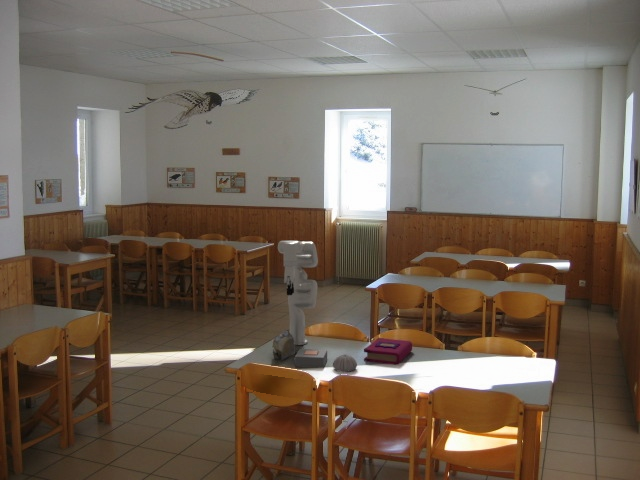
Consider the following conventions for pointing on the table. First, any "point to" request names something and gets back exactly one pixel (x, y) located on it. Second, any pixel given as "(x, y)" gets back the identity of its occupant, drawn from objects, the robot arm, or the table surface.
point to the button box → (311, 358)
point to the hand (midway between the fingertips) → (290, 293)
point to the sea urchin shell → (344, 363)
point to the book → (388, 351)
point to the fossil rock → (283, 345)
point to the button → (311, 353)
